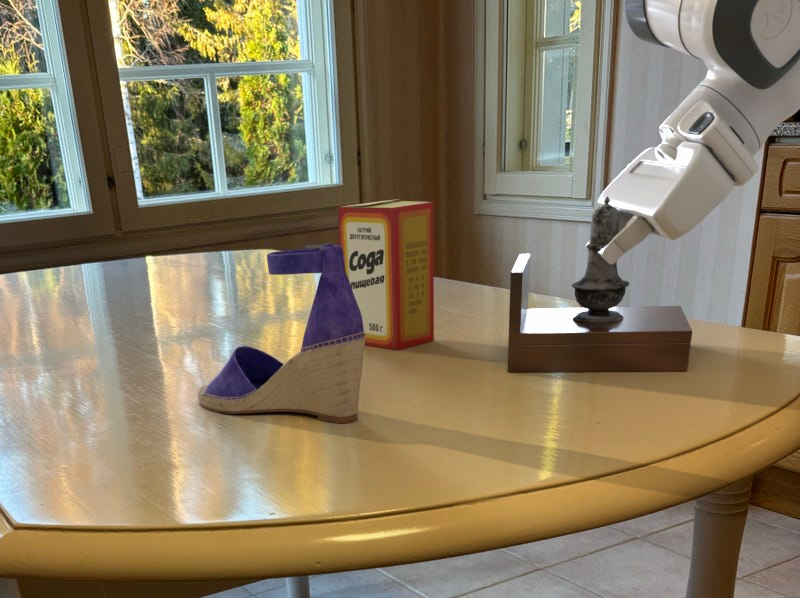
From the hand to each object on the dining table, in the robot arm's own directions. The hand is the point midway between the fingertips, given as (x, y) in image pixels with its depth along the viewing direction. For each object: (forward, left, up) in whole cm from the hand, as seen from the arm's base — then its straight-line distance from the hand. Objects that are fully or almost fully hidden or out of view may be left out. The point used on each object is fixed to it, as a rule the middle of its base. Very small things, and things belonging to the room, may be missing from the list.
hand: (597, 256), depth 97 cm
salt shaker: (-1, 0, -6) cm, 7 cm away
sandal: (+29, +22, -10) cm, 38 cm away
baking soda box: (+24, -10, -10) cm, 28 cm away
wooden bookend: (-1, 0, -10) cm, 10 cm away
